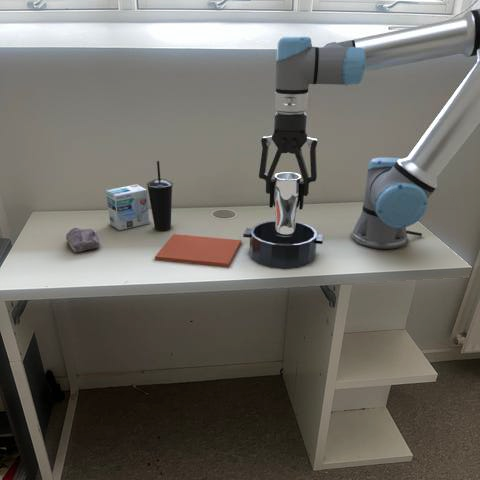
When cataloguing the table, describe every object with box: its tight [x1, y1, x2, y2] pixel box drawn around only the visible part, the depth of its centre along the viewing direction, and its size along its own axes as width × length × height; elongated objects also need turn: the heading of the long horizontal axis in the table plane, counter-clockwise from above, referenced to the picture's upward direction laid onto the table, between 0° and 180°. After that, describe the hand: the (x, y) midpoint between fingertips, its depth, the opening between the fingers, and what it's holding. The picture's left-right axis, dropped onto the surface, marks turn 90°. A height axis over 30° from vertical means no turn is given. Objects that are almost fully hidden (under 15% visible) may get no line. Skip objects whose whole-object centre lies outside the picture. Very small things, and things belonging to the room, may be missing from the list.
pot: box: [242, 220, 325, 270], centre depth 136 cm, size 21×18×6 cm
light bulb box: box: [105, 183, 150, 231], centre depth 153 cm, size 11×7×11 cm, turn 128°
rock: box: [65, 227, 101, 254], centre depth 140 cm, size 8×11×5 cm
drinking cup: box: [146, 160, 174, 232], centre depth 148 cm, size 8×8×20 cm
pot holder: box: [154, 233, 242, 268], centre depth 139 cm, size 20×16×1 cm
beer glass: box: [273, 171, 302, 237], centre depth 130 cm, size 7×7×15 cm
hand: (286, 206), depth 131 cm, fingers closed on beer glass, 7 cm apart
